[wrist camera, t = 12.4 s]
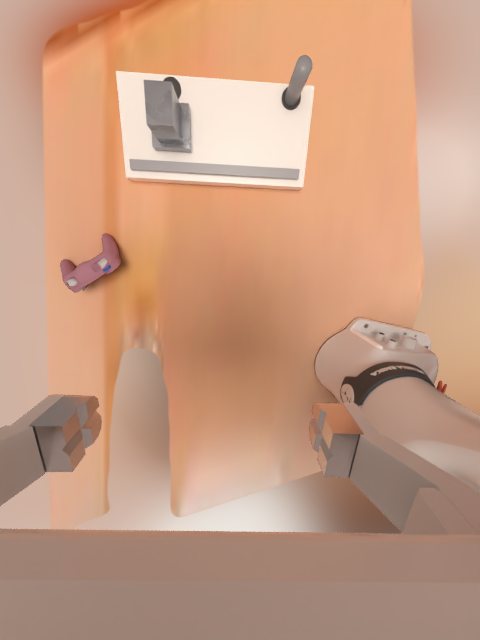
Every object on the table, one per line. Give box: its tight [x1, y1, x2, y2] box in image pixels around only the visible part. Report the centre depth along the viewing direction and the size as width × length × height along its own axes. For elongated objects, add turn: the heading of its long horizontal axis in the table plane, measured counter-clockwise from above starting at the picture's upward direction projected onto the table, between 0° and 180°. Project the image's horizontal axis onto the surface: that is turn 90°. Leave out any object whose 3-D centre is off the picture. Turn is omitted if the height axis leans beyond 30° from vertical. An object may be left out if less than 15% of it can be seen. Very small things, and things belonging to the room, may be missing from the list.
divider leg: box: [144, 80, 191, 152], centre depth 28 cm, size 5×7×6 cm
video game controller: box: [60, 234, 121, 293], centre depth 37 cm, size 10×5×7 cm, turn 119°
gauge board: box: [116, 55, 315, 190], centre depth 30 cm, size 26×12×8 cm, turn 87°
